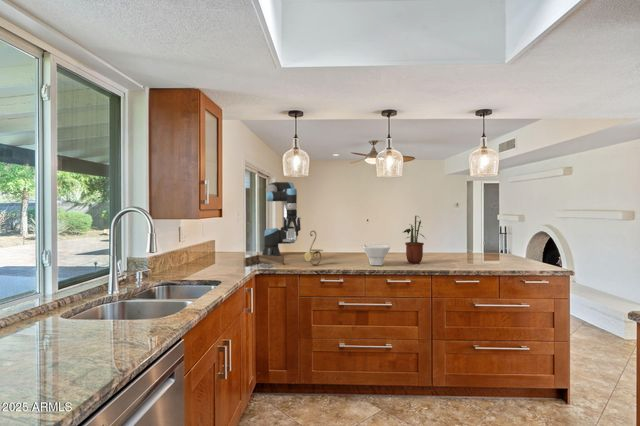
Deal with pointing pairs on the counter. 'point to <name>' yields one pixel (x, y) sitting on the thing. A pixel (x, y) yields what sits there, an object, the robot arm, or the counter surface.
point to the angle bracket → (290, 236)
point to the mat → (266, 266)
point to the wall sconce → (308, 254)
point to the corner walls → (264, 260)
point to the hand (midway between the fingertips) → (291, 240)
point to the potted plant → (414, 246)
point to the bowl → (376, 253)
